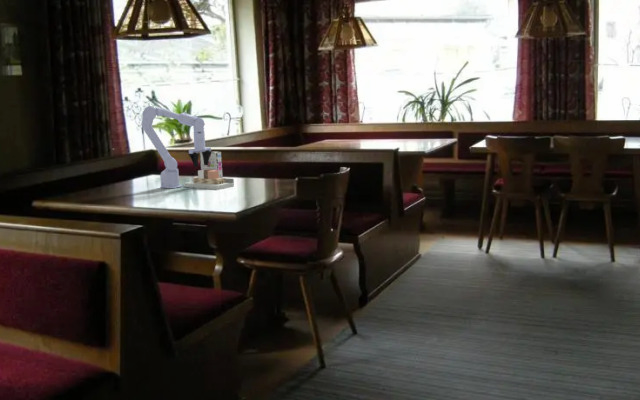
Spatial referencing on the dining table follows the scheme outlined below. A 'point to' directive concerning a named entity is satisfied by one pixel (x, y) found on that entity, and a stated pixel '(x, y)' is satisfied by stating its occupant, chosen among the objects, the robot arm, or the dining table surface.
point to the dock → (227, 184)
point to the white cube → (200, 174)
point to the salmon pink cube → (213, 174)
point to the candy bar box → (213, 162)
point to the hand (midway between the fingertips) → (201, 165)
